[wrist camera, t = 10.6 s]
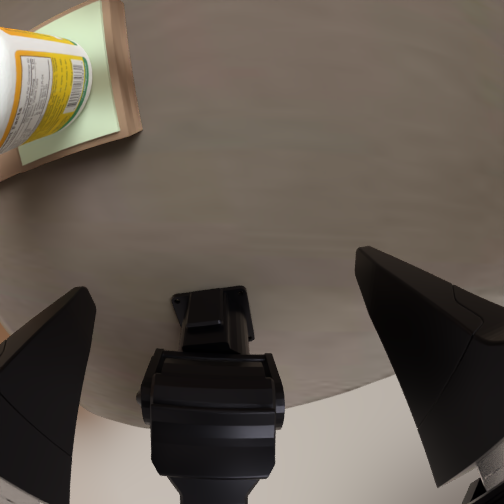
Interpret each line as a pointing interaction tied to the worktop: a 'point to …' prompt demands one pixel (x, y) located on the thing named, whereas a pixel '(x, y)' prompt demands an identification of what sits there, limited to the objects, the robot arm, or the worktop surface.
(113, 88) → the step stand
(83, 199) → the worktop surface
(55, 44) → the supplement bottle
